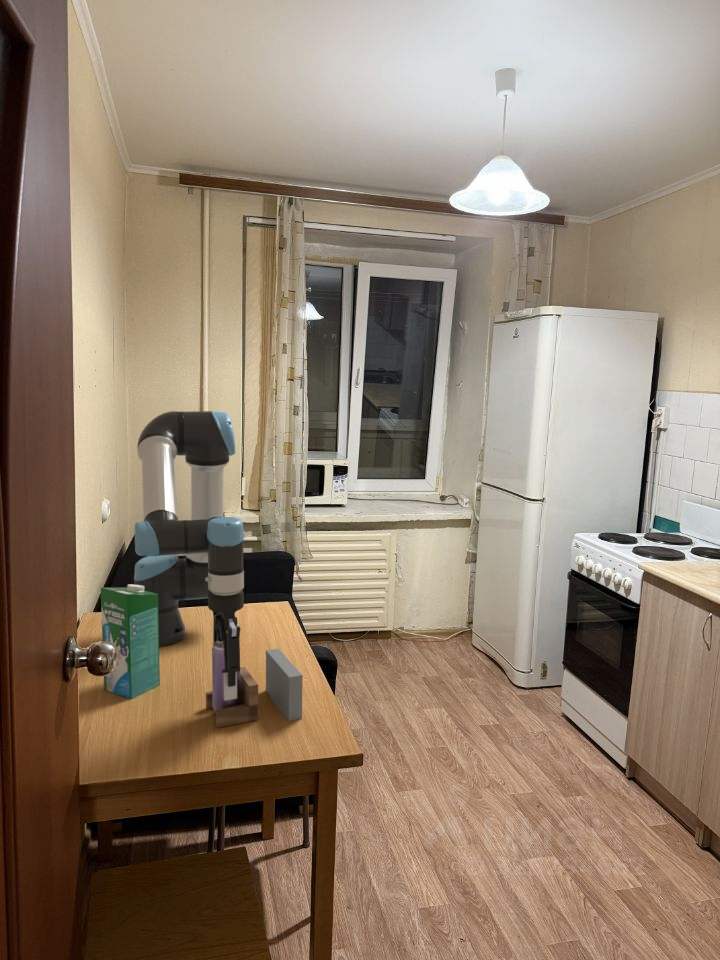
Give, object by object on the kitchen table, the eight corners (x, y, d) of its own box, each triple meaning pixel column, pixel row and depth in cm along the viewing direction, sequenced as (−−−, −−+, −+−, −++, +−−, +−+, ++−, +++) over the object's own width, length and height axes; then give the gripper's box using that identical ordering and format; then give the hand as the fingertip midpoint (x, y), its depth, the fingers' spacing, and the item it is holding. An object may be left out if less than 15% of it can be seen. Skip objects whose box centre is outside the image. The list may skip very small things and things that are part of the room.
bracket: (205, 707, 154) (205, 673, 152) (244, 699, 158) (244, 666, 156) (217, 727, 145) (216, 692, 144) (258, 719, 149) (258, 684, 148)
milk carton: (160, 684, 164) (158, 584, 161) (130, 699, 157) (127, 594, 153) (134, 676, 169) (131, 577, 165) (103, 689, 161) (100, 587, 158)
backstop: (265, 690, 163) (265, 650, 161) (277, 688, 164) (278, 648, 163) (289, 721, 149) (289, 677, 147) (302, 718, 150) (302, 675, 149)
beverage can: (233, 716, 147) (233, 650, 145) (208, 713, 148) (207, 647, 146) (244, 704, 153) (244, 640, 151) (219, 700, 154) (218, 637, 152)
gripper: (198, 579, 153) (199, 677, 157) (219, 606, 136) (220, 714, 140) (231, 576, 157) (231, 672, 160) (255, 601, 140) (255, 708, 143)
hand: (226, 692), depth 150 cm, fingers closed on beverage can, 6 cm apart
